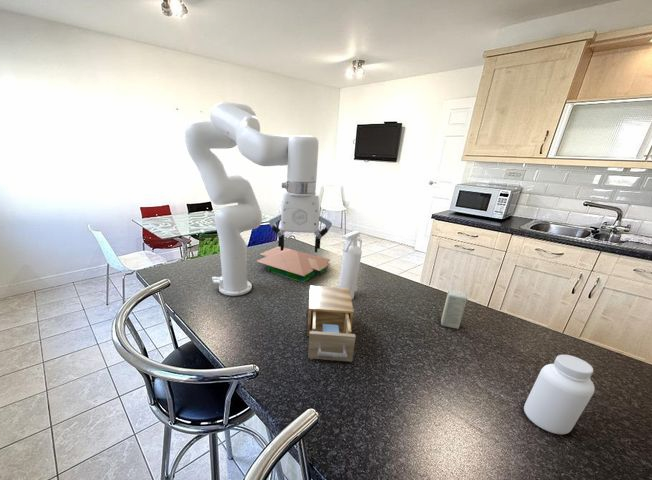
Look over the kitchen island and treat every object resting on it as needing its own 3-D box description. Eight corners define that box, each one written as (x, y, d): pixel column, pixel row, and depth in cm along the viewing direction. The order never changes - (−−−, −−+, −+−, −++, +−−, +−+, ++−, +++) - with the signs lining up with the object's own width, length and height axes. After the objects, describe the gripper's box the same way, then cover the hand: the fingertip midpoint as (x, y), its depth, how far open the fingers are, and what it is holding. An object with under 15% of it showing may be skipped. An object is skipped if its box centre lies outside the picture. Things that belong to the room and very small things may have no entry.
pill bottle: (513, 404, 65) (538, 350, 59) (546, 402, 66) (574, 349, 60) (544, 437, 58) (577, 379, 52) (581, 434, 59) (618, 377, 53)
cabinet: (350, 339, 86) (353, 311, 82) (306, 336, 87) (308, 308, 83) (345, 313, 99) (348, 287, 95) (308, 310, 100) (309, 285, 96)
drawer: (354, 374, 72) (358, 349, 68) (307, 370, 72) (309, 345, 69) (347, 331, 88) (350, 308, 85) (309, 328, 89) (310, 306, 86)
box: (458, 322, 95) (467, 292, 90) (458, 329, 92) (468, 298, 87) (440, 318, 97) (448, 288, 92) (440, 325, 94) (448, 294, 89)
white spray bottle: (364, 294, 112) (373, 230, 101) (344, 304, 104) (352, 236, 94) (350, 287, 116) (357, 226, 106) (330, 297, 109) (336, 232, 99)
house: (309, 285, 118) (310, 266, 114) (248, 265, 135) (247, 248, 132) (335, 267, 135) (337, 251, 131) (278, 252, 152) (278, 237, 149)
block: (321, 346, 79) (322, 333, 78) (321, 336, 83) (322, 323, 82) (337, 347, 79) (339, 334, 77) (336, 337, 83) (338, 324, 81)
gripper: (266, 188, 74) (266, 252, 81) (335, 191, 72) (330, 256, 80) (270, 185, 81) (270, 244, 88) (334, 187, 79) (329, 247, 86)
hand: (299, 249), depth 84 cm, fingers open, 9 cm apart
